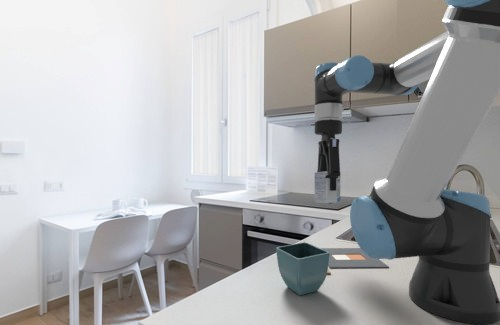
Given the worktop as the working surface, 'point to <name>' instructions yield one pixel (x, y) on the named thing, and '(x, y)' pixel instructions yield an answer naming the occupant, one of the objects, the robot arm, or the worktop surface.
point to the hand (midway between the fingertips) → (327, 199)
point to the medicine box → (323, 187)
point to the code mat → (352, 259)
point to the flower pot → (302, 266)
